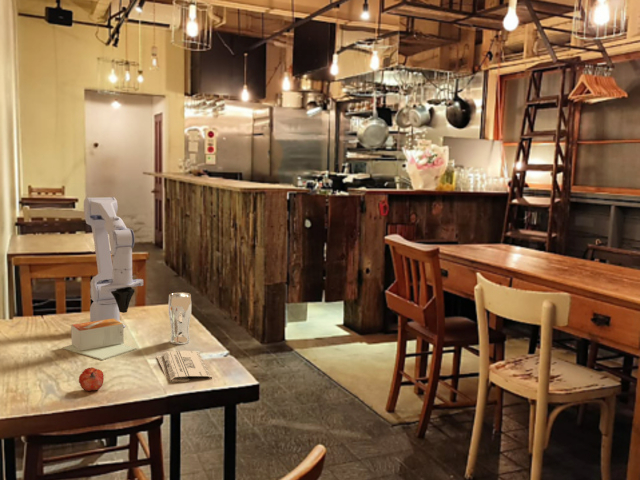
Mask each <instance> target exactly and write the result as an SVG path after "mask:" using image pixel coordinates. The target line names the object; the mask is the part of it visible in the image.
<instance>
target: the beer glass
mask: <svg viewBox="0 0 640 480" xmlns="http://www.w3.org/2000/svg"><path fill="white" fill-rule="evenodd" d="M167 305H168V306H167V307H168V318H169V322H170V329H171V330H170V331H171V333H170V341H169V343H170V344H173V345H176V346H177V345H185V344H189V343H191V337H190V322H191V317H192V296H191V293H189V292H173V293H170V294H168V304H167Z"/></svg>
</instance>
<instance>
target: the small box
mask: <svg viewBox="0 0 640 480" xmlns="http://www.w3.org/2000/svg"><path fill="white" fill-rule="evenodd" d="M123 325H124V323H122V322H121V321H120V322H119V321H117V320H115V319H114V318H113V319H106V320H100V321H93V322H90V321H88V322H82V323H81V322H80V323H75V324H74V323H73V324H70V326H71V327H70V328H71V330H70V331H71V345H74V346H75V347H76V348H77V349H78V350H80V351H83V350H89V349H94V348H100V347H105V346H110V345H116V344H124V343H125V342H124V341H125V340H124V335H125V334H124V327H123Z"/></svg>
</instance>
